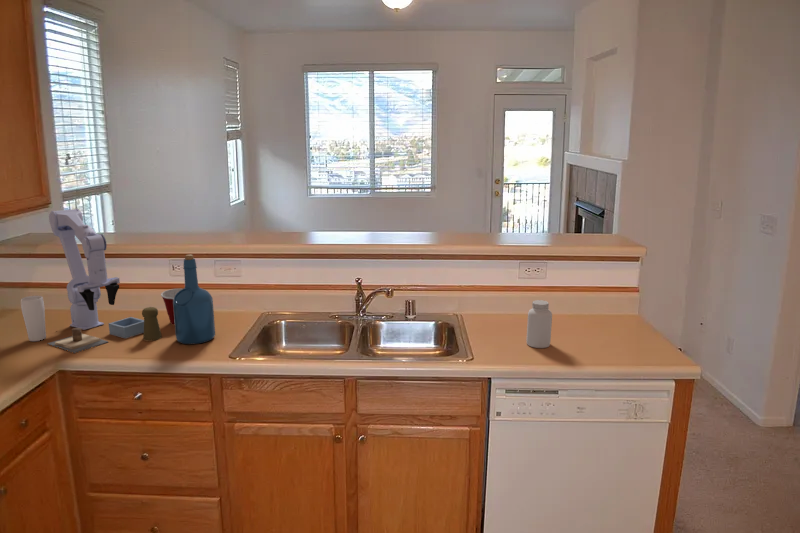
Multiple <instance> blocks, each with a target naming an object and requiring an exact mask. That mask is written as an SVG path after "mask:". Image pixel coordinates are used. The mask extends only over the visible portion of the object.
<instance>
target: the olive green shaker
mask: <svg viewBox="0 0 800 533" xmlns="http://www.w3.org/2000/svg"><path fill="white" fill-rule="evenodd" d="M141 315H142V317H143V320H144V333H142V335H143V336H142V339H143V341H145V342H146V341H148V342H149V341H150V342H151V341H158V340H160V339H161V338H162V333H161V328H160V324H159V320H158V315H159V310H158V308H157V307H155V306H149V307H145V308H142V311H141Z"/></svg>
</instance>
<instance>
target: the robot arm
mask: <svg viewBox="0 0 800 533" xmlns="http://www.w3.org/2000/svg"><path fill="white" fill-rule="evenodd" d="M48 218H49V220H48V221H49V226H50V228H51V231H52V233H53V236H56V237H58V238H59V240H60V243H61V246H62V249H63V252H64V256H65V259H66V262H67V265H68V268H69V271H70V274H71V280H70V281H69V282H68V283H67V285H66V291H67V298H68V301H69V302H70V303H71V306H70V309H69V310H70V318H71V323H70V324H69V327H72V328H81V330H82V331H83V330H84V331H85V330H90V329H92V328H96V327H99V326H102V325H104V324H105V323H104V322H102V321H99V314H98V306H97V305H98V304H97V303H98V302H99V300H100V298H101V296H102V294H101V288H103V287H105V290H106V294H107V301H108V304H109V305H112V306H114V305H115V302H116V301H115V300H116V296H117V293H118V290H119V289H120V283H121V281H120V277H117V276H116V277H111V278H108V271H107V265H106V264H107V262H106V257H105V256H106V255H105V252H106V250H107V246H108V244H107V240H106V237H105V236H104V234H102V233H97V232H96V231H95V230H94V229H93V228H92V227H91V226H90V225H88V224H85V223H84V221H83V219H84V217H83V214H82V211H81V209H79V208H74V209H71V208H70V209H64V210H63V209H62V210H51V211H50V212H49V214H48ZM76 239H77V240H78V241H79V242H80V243H81V248H82V250H83V253H84V257H85V258H86V264H87V272H88V274H87V272H86V269H85V265H84V262H83V258H82V256H81V252H80V250H79V246H78V243H77V240H76Z"/></svg>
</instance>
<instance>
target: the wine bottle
mask: <svg viewBox="0 0 800 533" xmlns="http://www.w3.org/2000/svg"><path fill="white" fill-rule="evenodd" d="M196 261H197V260H196V258H194V254H191V253H190V254H186V255H184V258H183V265H182V266H183V268H182V269H183V272H184V273H183V276H184V287H183V288H181V289H182V290H180V291H179V292H178V293H177V294H176V295H175V296H174V298H173V311H174V323H175V325H174V331H175V332H174V333H175V339H176V341H177V343H180V344H184V345H197V344H203V343H206V342H210V341H211V340H213V339H214V338H215V336H216V324H215V313H214V312H215V310H214V298H213V297H212V295H211V293H210V292H209V291H208V290H207V289H205V288H202V287H200V286H199V281H198V279H199V278H198V271H197V269H198V266H197V262H196Z"/></svg>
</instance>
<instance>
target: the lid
mask: <svg viewBox="0 0 800 533" xmlns="http://www.w3.org/2000/svg"><path fill="white" fill-rule="evenodd" d="M71 336H73V337H70V336H69V337H70V338H67V337H66V338H67V339H64V338H62V339H63V340H60V339H59V340H60V341H57V340H56V341H57V342H55V345H59V346H62V347H66V348H70V349H76V348H79V347H82V346H85V345H88V344H91V343H94V342H97V341H100V339H101V337H98V336H97V337H96V336H94V335H89V334H85V333H83V332H82V329H81V328H76V327H73V328H72V329H71Z"/></svg>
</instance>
